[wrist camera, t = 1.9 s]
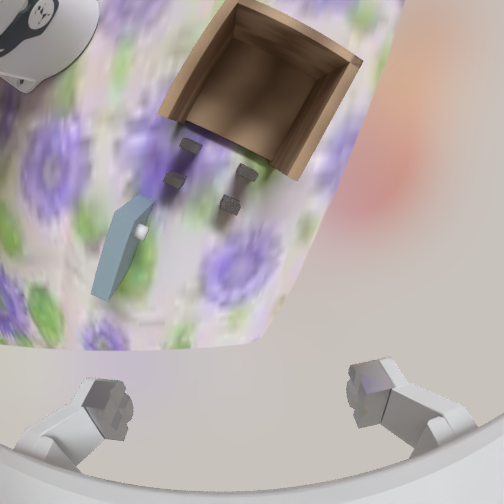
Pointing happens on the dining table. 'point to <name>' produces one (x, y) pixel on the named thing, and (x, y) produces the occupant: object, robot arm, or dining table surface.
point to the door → (121, 245)
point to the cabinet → (260, 87)
